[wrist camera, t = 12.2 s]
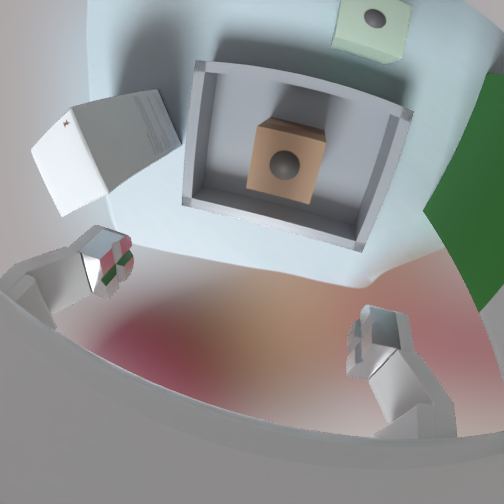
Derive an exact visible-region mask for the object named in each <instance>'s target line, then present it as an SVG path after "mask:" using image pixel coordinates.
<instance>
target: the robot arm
mask: <svg viewBox="0 0 504 504" xmlns="http://www.w3.org/2000/svg"><path fill="white" fill-rule="evenodd" d="M131 246H132V242H131V238H130V237H129V236H128V235H125V234H123V233H120V232H117V231H114V230H111V229H108V228H105V227H102V226H99V225H95V226H93V227H91V228H90V229H89V230H88V231H87V232H86V233H84V234H83V235H82V236H81V237H79V238H78V239H77V240H76V241H75V242H74V243H73V244H71V245H70V246H69V247H68V248H67V247H63V248H60V249H56V250H54V251H50V252H48V253H45V254H42V255H39V256H36V257H33V258H30V259H28V260H25V261H22V262H19V263H17V264H14V266H13V267H11V268H10V269H9V270H8V271H7V272H6V273H5V274H4V275H3V276H2V277H1V278H0V504H504V431H502V432H496V433H490V434H483V435H476V436H467V437H457V428H456V418H455V410H454V403H453V402H452V401H451V399H450V397H449V396H448V394H447V393H446V392H445V390H444V389H443V387H442V386H441V384H440V383H439V381H438V380H437V378H436V377H435V376H434V374H433V373H432V371H431V370H430V369H429V367H428V366H427V364H426V363H425V362H424V360H423V359H422V358H421V356H420V355H419V353H415V350H414V345H413V339H412V334H411V329H410V324H409V319H408V316H407V314H405V313H400V312H396V311H390V310H387V309H382V308H378V307H375V306H371V305H366V306H364V307H363V309H362V311H361V313H360V317H361V319H359V320H357V321H355V322H354V323H353V325H352V327H351V329H350V332H349V335H348V340H347V349H348V350H349V352H350V355H349V356H348V357H347V363H346V366H347V367H346V375H347V376H352V377H357V378H362V379H366V380H369V381H368V382H369V384H370V386H371V388H372V390H373V392H374V395H375V397H376V399H377V401H378V403H379V405H380V408H381V410H382V412H383V414H384V416H385V419H386V421H387V423H388V425H387V426H385V427H384V428H382V429H381V430H379V431H378V432H376V433H375V434H374V438H371V437H359V436H350V435H341V434H333V433H326V432H320V431H314V430H308V429H303V428H297V427H292V426H287V425H283V424H278V423H274V422H270V421H266V420H261V419H258V418H254V417H250V416H246V415H243V414H239V413H236V412H232V411H229V410H226V409H222V408H219V407H216V406H213V405H210V404H207V403H204V402H201V401H199V400H196V399H193V398H190V397H187V396H185V395H182V394H179V393H177V392H175V391H172V390H170V389H167V388H165V387H162V386H160V385H157V384H155V383H153V382H150V381H148V380H146V379H144V378H142V377H139V376H137V375H135V374H133V373H131V372H129V371H127V370H124V369H123V368H121V367H119V366H117V365H115V364H113V363H111V362H109V361H107V360H105V359H103V358H101V357H99V356H97V355H96V354H94V353H92V352H90V351H89V350H87V349H85V348H83V347H82V346H80V345H78V344H77V343H75V342H73V341H72V340H70V339H68V338H67V337H65V336H63V335H62V334H60V333H59V332H57V331H56V330H55V329H56V327H57V326H56V322H55V321H54V319H53V317H52V315H53V314H55V313H57V312H59V311H60V310H62V309H64V308H66V307H68V306H70V305H72V304H73V303H75V302H77V301H79V300H81V299H83V298H84V297H87V296H88V295H90V294H91V292H92V293H94V294H96V295H99V296H101V297H103V298H106V299H108V300H110V299H111V298H112V296H113V295H114V294H115V293H116V292H117V290H118V289H119V283H120V282H122V281H125V280H127V278H128V277H129V276H130V274H131V272H132V269H133V265H134V258H133V255H132V253H131V251H130V250H129V249H130V248H131Z"/></svg>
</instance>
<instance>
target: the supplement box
mask: <svg viewBox="0 0 504 504" xmlns="http://www.w3.org/2000/svg"><path fill="white" fill-rule="evenodd" d="M180 146H181V143H180V141H179V138H178V136H177V134H176V131H175V129H174V127H173V124H172V122H171V120H170V117H169V115H168V113H167V110H166V108H165V106H164V103H163V101H162V98H161V96H160V94H159V91H158V89H153V90H146V91H140V92H135V93H129V94H124V95H119V96H114V97H109V98H105V99H100V100H96V101H92V102H88V103H85V104H81V105H77V106H73V107H71V108H70V109H69V110H68V111H67V112H66V113H65V114H64V115H63V116H62V117H61V118H60V119H59V120H58V121H57V122H56V123H55V124H54V125H53V126H52V127H51V128H50V129H49V130H48V131H47V132H46V133H45V134H44V135H43V136H42V138H41V139H40V140H39V141H38V142H37V143H36V144H35V145H34V147H33V148H32V149H31V153H32V155H33V158H34V160H35V162H36V165H37V167H38V169H39V171H40V173H41V176H42V178H43V180H44V182H45V184H46V186H47V188H48V191H49V193H50V195H51V197H52V199H53V201H54V203H55V205H56V207H57V209H58V211H59V212H60V214H61V216H62V217H63V216H65V215H67V214H69V213H71V212H73V211H75V210H76V209H78V208H80V207H83V206H85V205H86V204H89V203H91V202H93V201H95V200H97V199H99V198H101V197H103V196H105V195H108V194H109V193H111V192H112V191H113V190H114V189H115V188H117V187H118V186H119V185H121V184H122V183H124V182H125V181H127V180H128V179H130V178H131V177H133V176H134V175H136V174H137V173H139V172H140V171H142V170H143V169H145V168H147V167H148V166H150V165H151V164H153V163H155V162H156V161H158V160H159V159H161V158H163V157H164V156H166V155H168V154H169V153H171V152H172V151H174V150H176V149H178V148H179V147H180Z"/></svg>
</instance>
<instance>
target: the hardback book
mask: <svg viewBox="0 0 504 504" xmlns="http://www.w3.org/2000/svg"><path fill="white" fill-rule="evenodd" d="M423 212H424V213H425V215H426V216H427V218H428V219H429V221H430V222H431V224H432V226H433V227H434V229H435V230H436V232H437V234H438V235H439V237H440V238H441V240H442V242H443V243H444V245H445V247H446V248H447V250H448V252H449V254H450V256H451V257H452V259H453V261H454V263H455V265H456V266H457V268H458V270H459V272H460V274H461V276H462V278H463V280H464V282H465V284H466V286H467V288H468V290H469V292H470V294H471V296H472V298H473V301H474V303H475V305H476V307H477V310H478V312H479V314H480V317H481V319H482V321H483V324H484V326H485V329H486V331H487V334H488V337H489V339H490V342H491V345H492V347H493V350H494V353H495V356H496V359H497V363H498V366H499V369H500V372H501V376H502V379H503V383H504V75H502V74H490V73H487V74H486V77H485V80H484V83H483V86H482V89H481V92H480V94H479V97H478V100H477V102H476V105H475V107H474V110H473V112H472V115H471V117H470V120H469V122H468V124H467V127H466V129H465V131H464V133H463V136H462V138H461V140H460V142H459V144H458V146H457V149H456V151H455V153H454V155H453V157H452V159H451V161H450V163H449V165H448V167H447V169H446V171H445V172H444V174H443V176H442V178H441V180H440V182H439V184H438V185H437V187H436V189H435V191H434V193H433V194H432V196H431V198H430V200H429V201H428V203H427V205H426V207H425V208H424V210H423Z"/></svg>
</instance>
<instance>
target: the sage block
mask: <svg viewBox="0 0 504 504" xmlns="http://www.w3.org/2000/svg"><path fill="white" fill-rule="evenodd" d="M411 7H412V6H411V5H409V4H406V3H404V2H401V1H399V0H341V1H340V5H339V10H338V15H337V20H336V25H335V30H334V35H333V39H332V44H331V48H333V49H337V50H341V51H344V52H348V53H351V54H354V55H357V56H360V57H364V58H367V59H369V60H372V61H375V62H378V63H381V64H383V65H385V64H388V63H391V62H395V61H398V60H402V58H403V53H404V48H405V43H406V38H407V32H408V27H409V21H410V14H411Z"/></svg>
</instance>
